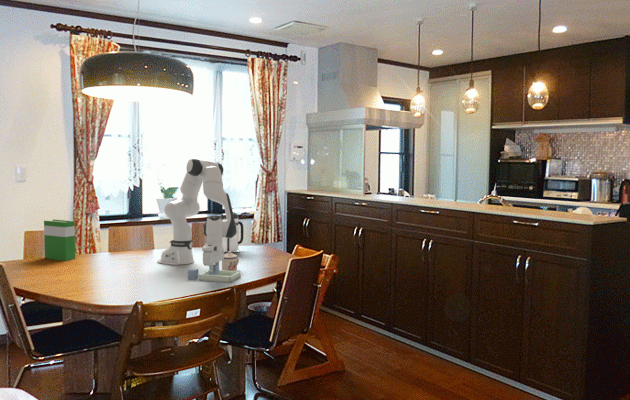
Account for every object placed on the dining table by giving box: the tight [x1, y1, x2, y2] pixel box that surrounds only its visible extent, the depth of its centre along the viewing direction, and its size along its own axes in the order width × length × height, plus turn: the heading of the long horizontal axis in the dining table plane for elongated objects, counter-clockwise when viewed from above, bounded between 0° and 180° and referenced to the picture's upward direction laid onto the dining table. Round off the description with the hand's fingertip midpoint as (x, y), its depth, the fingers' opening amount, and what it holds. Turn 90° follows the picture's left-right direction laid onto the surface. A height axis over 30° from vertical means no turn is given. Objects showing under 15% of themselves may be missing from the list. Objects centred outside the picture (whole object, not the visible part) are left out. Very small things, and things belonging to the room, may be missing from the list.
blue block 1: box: [187, 268, 199, 280], centre depth 298 cm, size 4×4×5 cm
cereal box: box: [43, 219, 76, 262], centre depth 344 cm, size 18×7×24 cm, turn 68°
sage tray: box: [198, 269, 241, 284], centre depth 299 cm, size 18×14×3 cm
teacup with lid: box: [221, 251, 240, 272], centre depth 318 cm, size 12×9×12 cm
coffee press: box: [219, 212, 244, 254], centre depth 376 cm, size 17×16×30 cm
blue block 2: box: [208, 263, 220, 275], centre depth 299 cm, size 4×4×5 cm
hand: (214, 270), depth 299 cm, fingers closed on blue block 2, 4 cm apart
